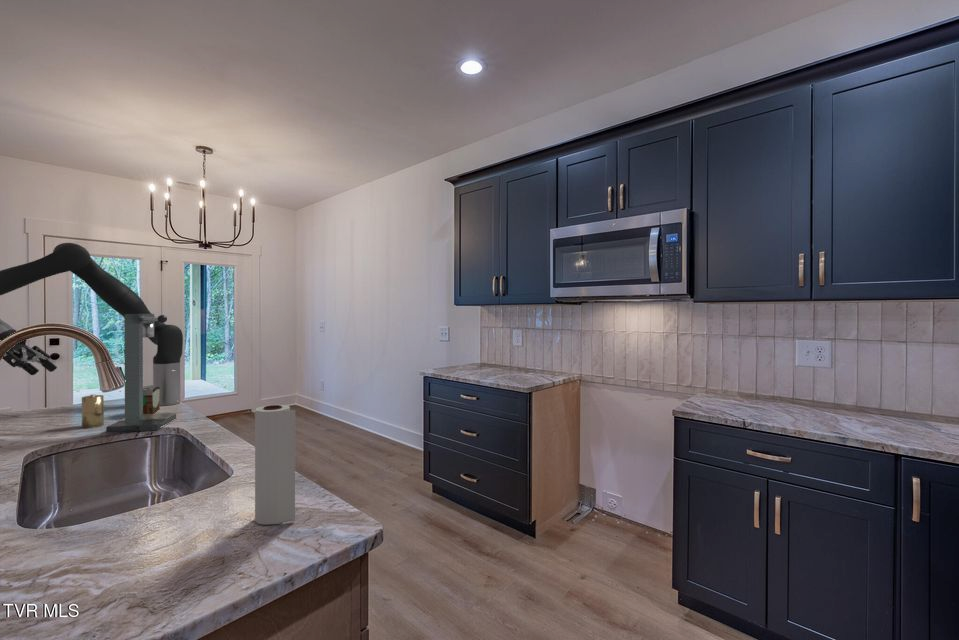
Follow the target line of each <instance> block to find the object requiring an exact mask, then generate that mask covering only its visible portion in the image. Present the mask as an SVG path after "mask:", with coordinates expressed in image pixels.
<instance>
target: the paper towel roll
mask: <svg viewBox="0 0 959 640" xmlns="http://www.w3.org/2000/svg"><path fill="white" fill-rule="evenodd" d="M254 416H255V417H254V419H255V420H254V460H255V461H254V463H255V464H254V470H255V471H254V521H255V523H256V524H258V525H263V526H264V525H278V524H279V525H280V524H283V523H288V522H290V523H291V522H296V409H291V407H290V405H286V404H269V405H264V406H259V407H257V408H255V410H254Z"/></svg>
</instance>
